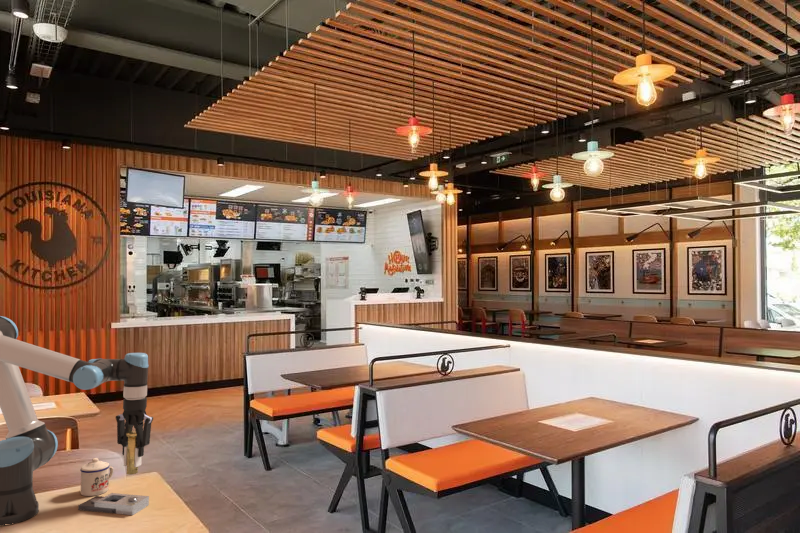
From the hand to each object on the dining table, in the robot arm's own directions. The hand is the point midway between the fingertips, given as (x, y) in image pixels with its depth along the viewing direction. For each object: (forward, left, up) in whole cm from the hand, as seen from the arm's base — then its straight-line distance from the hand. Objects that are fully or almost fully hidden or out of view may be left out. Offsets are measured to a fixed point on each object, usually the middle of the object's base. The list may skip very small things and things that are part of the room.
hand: (132, 465), depth 195 cm
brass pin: (0, 0, -3) cm, 3 cm away
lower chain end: (-1, -11, -10) cm, 15 cm away
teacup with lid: (-14, +1, -10) cm, 18 cm away
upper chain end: (+5, -11, -10) cm, 16 cm away
